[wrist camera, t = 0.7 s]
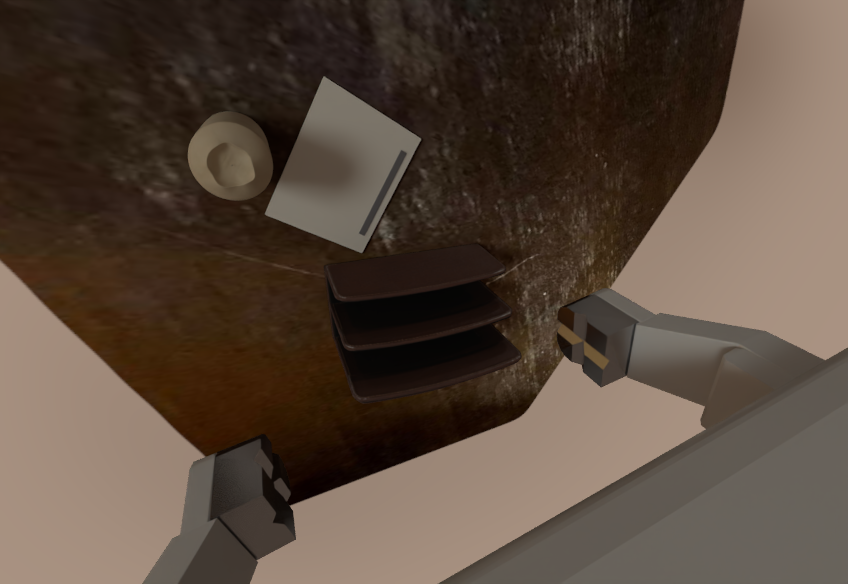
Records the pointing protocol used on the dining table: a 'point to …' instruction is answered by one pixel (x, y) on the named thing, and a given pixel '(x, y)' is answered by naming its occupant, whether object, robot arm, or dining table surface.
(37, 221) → the dining table surface
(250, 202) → the dining table surface
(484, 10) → the dining table surface
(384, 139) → the white rectangular plate
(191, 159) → the candle
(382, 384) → the letter holder
